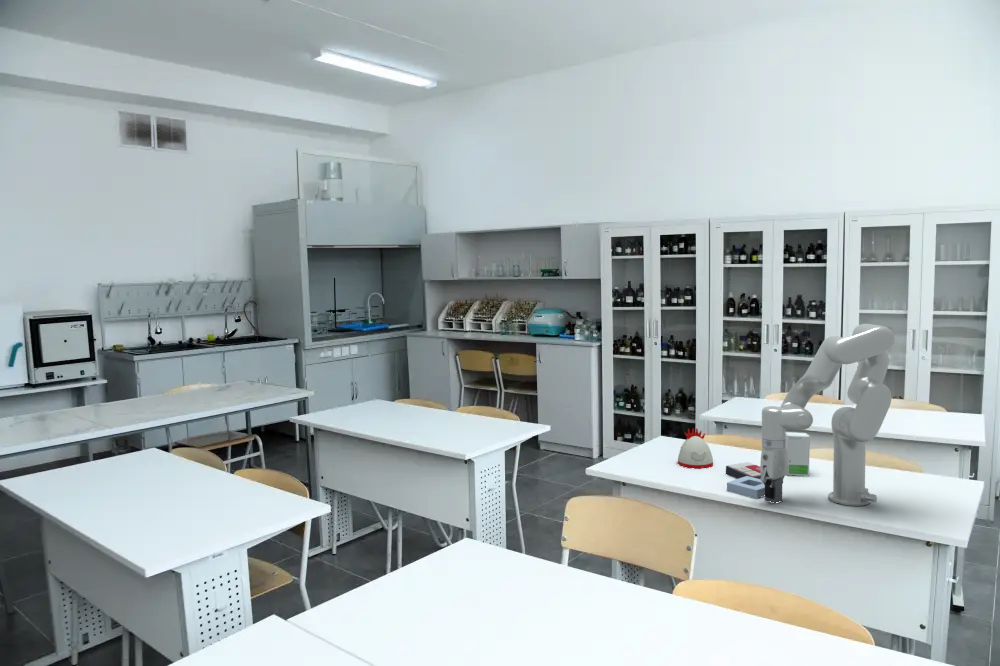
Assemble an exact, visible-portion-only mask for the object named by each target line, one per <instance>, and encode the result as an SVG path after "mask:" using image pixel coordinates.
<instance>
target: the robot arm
mask: <svg viewBox="0 0 1000 666" xmlns="http://www.w3.org/2000/svg"><path fill="white" fill-rule="evenodd" d="M895 340H896V338H895V335H894V332H893V331H892V330H891V329H890V328H889V327H887V326H884V325H878V324H872V323H862V324H858V325H856V327H854V329H853V330H852V336H847V337H843V336H835V335H834V336H833V335H832V336H828V337H827V338H825V339H824V340H823V342H822V343H821V345H820V346H819V348H818V350H817V352H816V354H815V356H814V357H813V359H812V361H811V363H810V365H809V366H808V368H807V369H806V371H805V373H804V374H803V375H802V377H800V378H799V379H798V380H797V382H796V383H794V385H792V387H791V388H790V389H789V391H788V392H787V394H786V395H785V397H784V399H783V400H782V403H781V404H780V406H773V405H772V406H765V407H763V408H762V410H761V455H760V472H761V478H760V480H761V481H762V482H763V483H764V486H765V496H764V498H765V497H767V498H770V499H774V487H773V483H774V479H778V478H782V485H783V484H784V478H785V476H788V475H787V474H788V455H787V449H786V432H787V431H786V430H793V431H804V430H808V429H809V428H810V427H811V426H812V425H813V423H814V417H813V415H812V413H811V412H810V411H809V410H808V409H806V406H807V405H808V403H809V401H810V400H811V399H812V398H813V397H814V396H815V395H816V394H818V393H820V392H822V391H824V390H826V389H828V388H830V387H831V386H832V384H833V382H834V380H835V377H836V376H837V374H838V372H839V371H840V369H841V367H842V366H843V365H850V364H855V363H857V362H858V364H857V369H856V371H855V373H854V375H853V377H852V379H851V381H850V384H849V386H848V389H847V393H846V394H847V398H848V399H849V401H850V402H852V403H853V404H854V405H855V408H854V407H853V406H852V407H851V406H843V407H840V408H838V409H836V410H835V411H834V413H833V414H832V416H831V432H832V438H833V467H832V468H833V469H832V470H833V474H832V475H833V476H832V477H833V479H832V481H833V482H832V483H833V485H832V486H833V489H832V491H831V492H829V493H828V496H827V498H828V499H829V500H830V501H831V502H833V503H836V504H838V503H839V505H843V506H851V507H861V506H862V507H863V506H867V505H869V504H870V503H871V502H873V503H876V502H877V501H878V497H877V495H876V494H874V493H870V492H869V488H866V453H867V452H866V443H867V442H871V441H872V440H873V439H874V438H875V437H876V436H877V435H878V433H879V431H880V430H881V428H882V424H883V423H884V421H885V418H886V416H887V413H888V412H889V409H890V406H891V404H892V393H891V390H890V387H888V386H887V385H886V384H884V380H885V377H886V375H887V372H888V368H889V364H890V362H889V361H890V360H889V353H888V351H889V350H890V349H891V348H892V347H893V346H894V344H895ZM768 476H769V477H768ZM768 479H770V481H769V480H768Z"/></svg>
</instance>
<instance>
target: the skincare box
mask: <svg viewBox="0 0 1000 666" xmlns="http://www.w3.org/2000/svg"><path fill="white" fill-rule="evenodd" d="M810 441H811V436H810V435H809V434H808V433H806V432H796V431H795V432H790V431H789V432H788V431H786V449H787V455H788V474H787V475H786V476H792V475H796V477H799V476H800V477H809V476H810V453H811V452H810V446H811V443H810Z"/></svg>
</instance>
